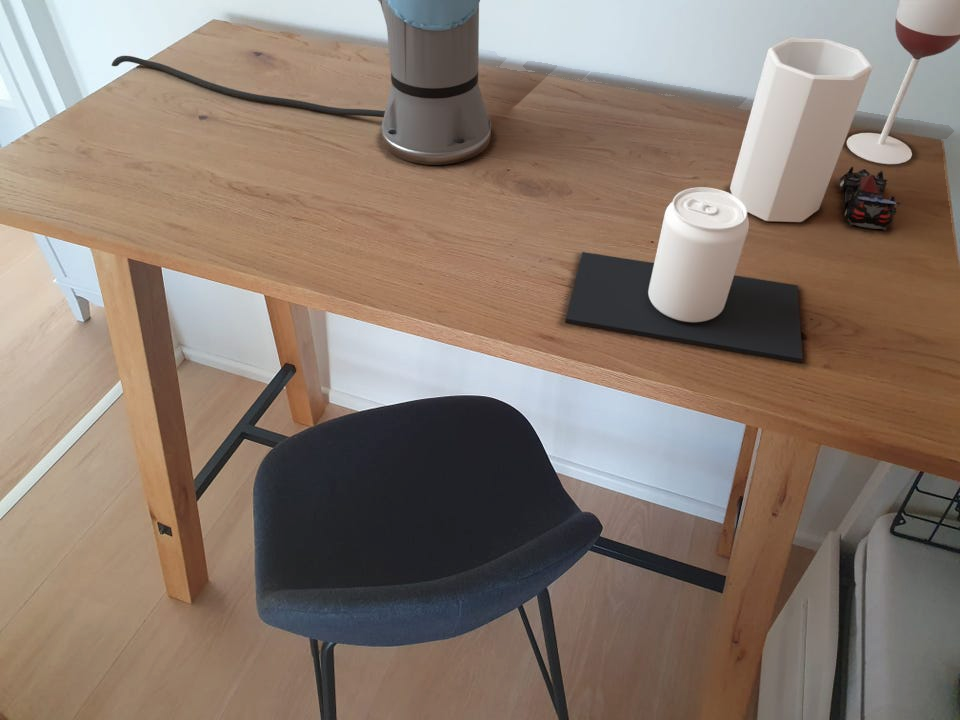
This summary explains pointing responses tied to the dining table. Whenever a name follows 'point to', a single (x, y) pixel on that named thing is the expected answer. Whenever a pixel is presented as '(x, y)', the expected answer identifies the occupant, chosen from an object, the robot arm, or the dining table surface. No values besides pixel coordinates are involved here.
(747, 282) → the place mat
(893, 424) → the dining table surface
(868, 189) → the toy car
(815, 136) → the cup
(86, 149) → the dining table surface
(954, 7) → the wineglass
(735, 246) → the beverage can
